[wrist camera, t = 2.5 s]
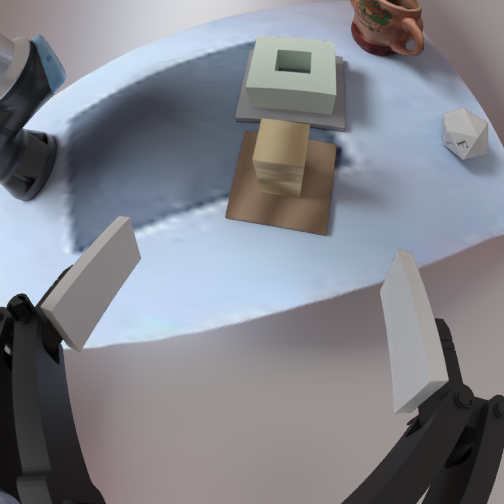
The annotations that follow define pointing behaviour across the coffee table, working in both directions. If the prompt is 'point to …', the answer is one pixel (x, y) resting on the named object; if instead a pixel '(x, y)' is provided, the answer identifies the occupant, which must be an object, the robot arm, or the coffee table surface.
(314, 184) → the wooden t-shaped block
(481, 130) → the die
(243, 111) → the square socket base
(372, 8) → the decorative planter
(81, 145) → the coffee table surface
